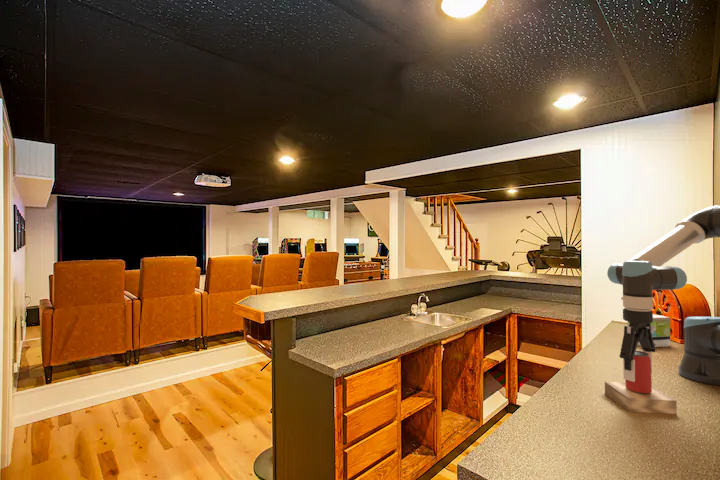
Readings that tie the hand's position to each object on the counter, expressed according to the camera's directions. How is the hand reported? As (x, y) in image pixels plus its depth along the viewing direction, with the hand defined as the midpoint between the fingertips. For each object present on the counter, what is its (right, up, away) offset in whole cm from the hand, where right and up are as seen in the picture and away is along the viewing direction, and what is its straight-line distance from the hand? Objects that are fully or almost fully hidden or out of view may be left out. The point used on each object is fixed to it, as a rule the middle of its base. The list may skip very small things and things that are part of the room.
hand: (638, 375), depth 112 cm
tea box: (+56, -9, +64) cm, 86 cm away
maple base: (0, -9, 0) cm, 9 cm away
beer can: (0, -5, 0) cm, 5 cm away
